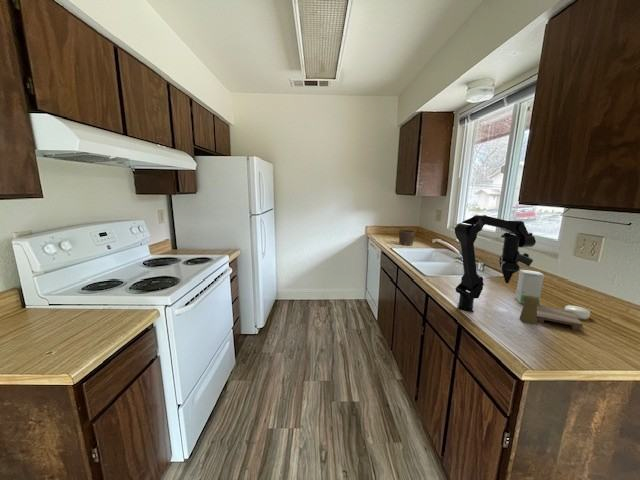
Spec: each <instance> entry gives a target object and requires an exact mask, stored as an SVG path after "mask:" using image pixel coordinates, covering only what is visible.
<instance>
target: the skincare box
mask: <svg viewBox="0 0 640 480" xmlns="http://www.w3.org/2000/svg"><path fill="white" fill-rule="evenodd" d="M518 274H519V275H518V280H517V285H516V290H515V295H514V296H515V298H514V299H515V300H516V301H517V302H518V303H519V304H524V301H523V299H524V297H525V296H527V295H530V296H535V297H537V298H538V299H539V301H540V299H541V294H542V290H543V289H542V288H543V284H544V280H545V279H544V278H545V274H543V273H542V272H540V271H537V270H536V271H534V270H530V269H529V270H527V269H519V272H518ZM538 305H540V303H539V304H538Z"/></svg>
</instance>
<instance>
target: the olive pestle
mask: <svg viewBox="0 0 640 480" xmlns="http://www.w3.org/2000/svg"><path fill="white" fill-rule="evenodd" d="M523 301H524V303H523V306H522V309H521V312H520V315H519V318H518V319H519V321H521V322H523V323H525V324H529V325H537V324H538V322H537V305H538V304H539V305H540V300H539V299H538V298H537V297H535V296H530V295H527V296H525V297H524V299H523Z"/></svg>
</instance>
